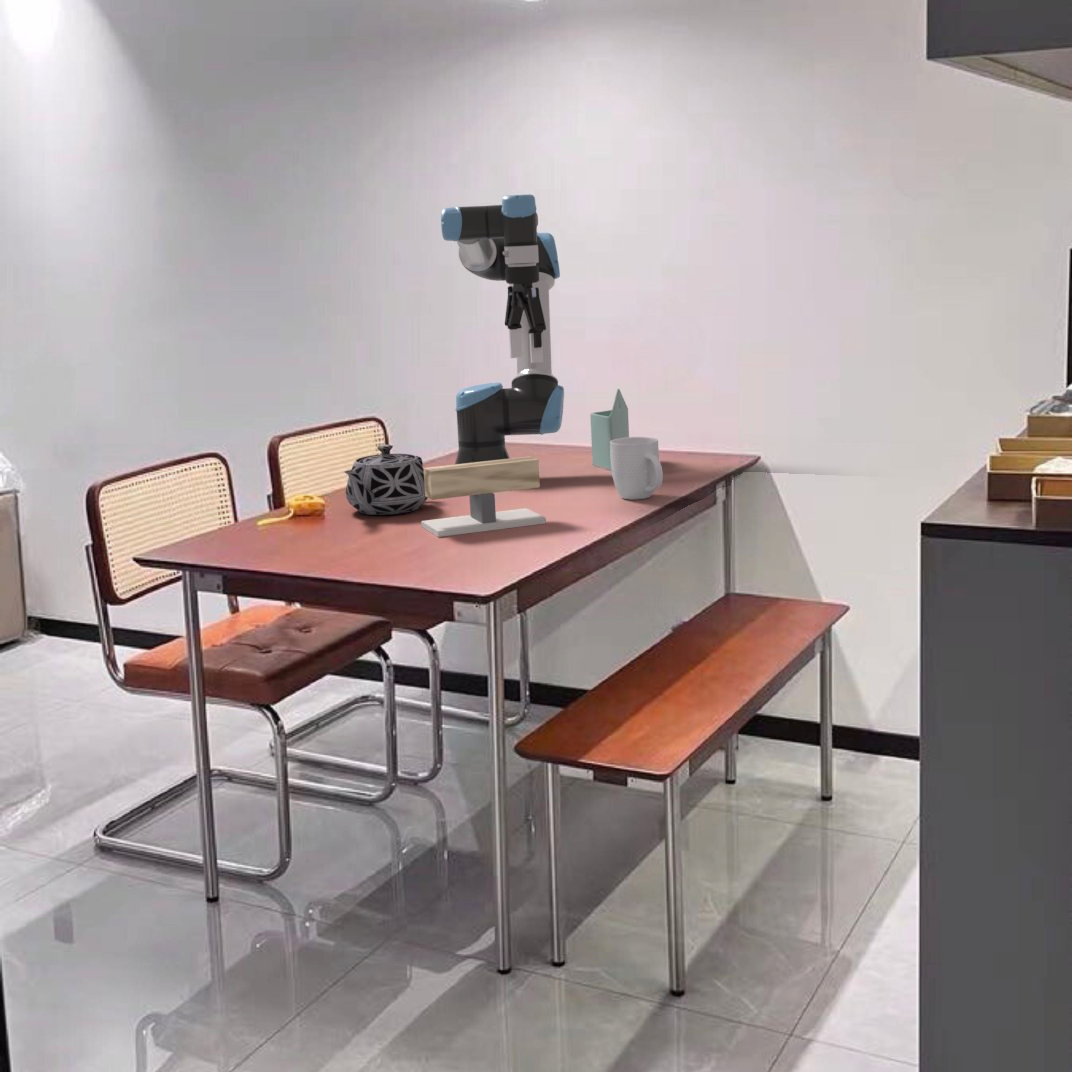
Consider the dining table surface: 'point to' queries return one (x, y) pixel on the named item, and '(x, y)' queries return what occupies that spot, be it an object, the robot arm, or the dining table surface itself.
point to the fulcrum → (482, 518)
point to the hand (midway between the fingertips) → (526, 360)
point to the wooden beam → (481, 477)
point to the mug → (635, 466)
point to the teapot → (386, 483)
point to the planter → (608, 430)
